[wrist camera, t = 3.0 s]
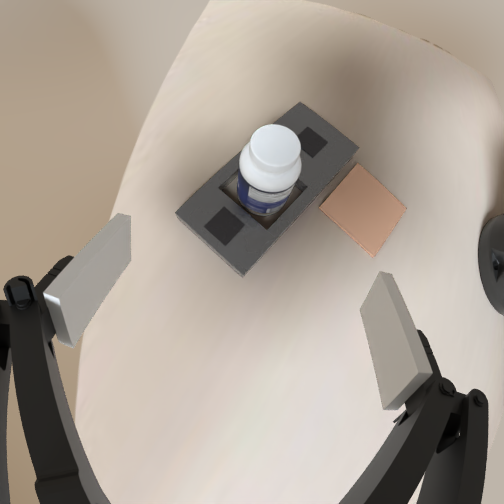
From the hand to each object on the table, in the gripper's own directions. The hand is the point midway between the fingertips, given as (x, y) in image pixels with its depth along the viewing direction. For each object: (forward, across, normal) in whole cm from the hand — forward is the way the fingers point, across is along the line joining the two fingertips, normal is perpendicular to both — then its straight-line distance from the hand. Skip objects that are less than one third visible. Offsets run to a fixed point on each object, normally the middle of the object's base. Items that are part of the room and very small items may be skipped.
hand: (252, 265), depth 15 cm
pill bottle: (+18, 0, -3) cm, 18 cm away
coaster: (+19, +12, -2) cm, 22 cm away
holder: (+19, +1, -2) cm, 19 cm away
